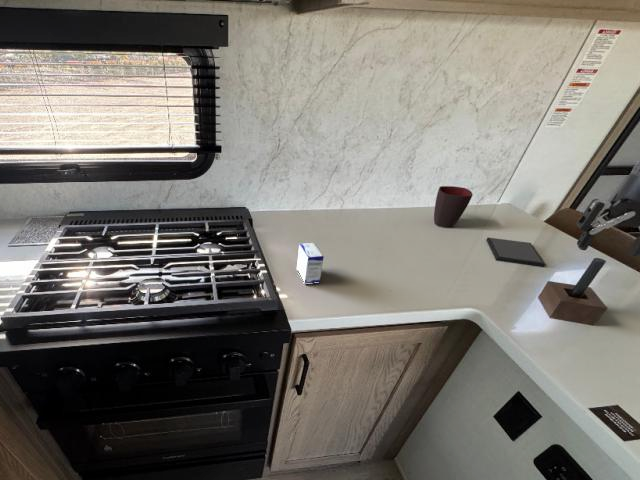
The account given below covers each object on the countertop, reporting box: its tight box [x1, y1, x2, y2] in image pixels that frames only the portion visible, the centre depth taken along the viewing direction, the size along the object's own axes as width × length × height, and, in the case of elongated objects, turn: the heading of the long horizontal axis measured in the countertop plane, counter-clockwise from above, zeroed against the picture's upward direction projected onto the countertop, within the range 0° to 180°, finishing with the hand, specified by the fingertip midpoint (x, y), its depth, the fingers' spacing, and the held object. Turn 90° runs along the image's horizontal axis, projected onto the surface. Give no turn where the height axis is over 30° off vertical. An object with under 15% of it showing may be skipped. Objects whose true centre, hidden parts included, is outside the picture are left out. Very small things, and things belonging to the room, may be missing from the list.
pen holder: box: [537, 280, 608, 326], centre depth 81 cm, size 9×9×5 cm
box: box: [296, 242, 325, 286], centre depth 93 cm, size 8×4×9 cm, turn 9°
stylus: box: [569, 257, 607, 298], centre depth 78 cm, size 2×2×14 cm
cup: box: [433, 185, 474, 229], centre depth 121 cm, size 10×14×12 cm
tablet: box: [486, 237, 546, 268], centre depth 105 cm, size 12×14×1 cm
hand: (605, 251), depth 73 cm, fingers open, 8 cm apart
